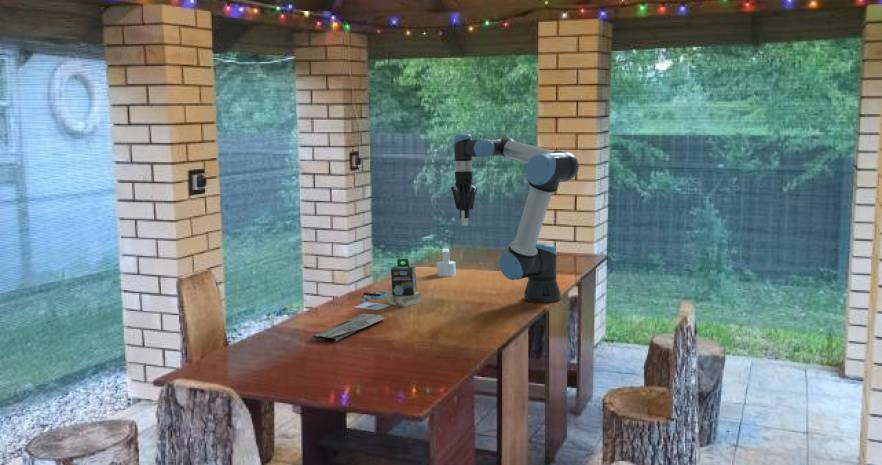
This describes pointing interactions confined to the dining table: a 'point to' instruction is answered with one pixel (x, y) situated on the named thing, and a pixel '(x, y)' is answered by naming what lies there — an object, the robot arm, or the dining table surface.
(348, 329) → the newspaper
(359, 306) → the blueprint sheet
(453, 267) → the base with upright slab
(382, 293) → the gear mechanism
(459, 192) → the robot arm
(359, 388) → the dining table surface
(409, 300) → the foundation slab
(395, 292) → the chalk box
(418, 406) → the dining table surface
